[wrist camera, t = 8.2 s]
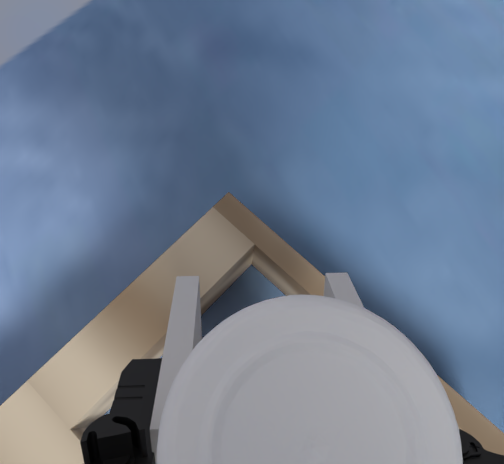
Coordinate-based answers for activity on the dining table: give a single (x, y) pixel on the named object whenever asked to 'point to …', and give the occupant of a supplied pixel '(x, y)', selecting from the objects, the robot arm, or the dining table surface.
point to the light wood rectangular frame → (161, 336)
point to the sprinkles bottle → (307, 392)
